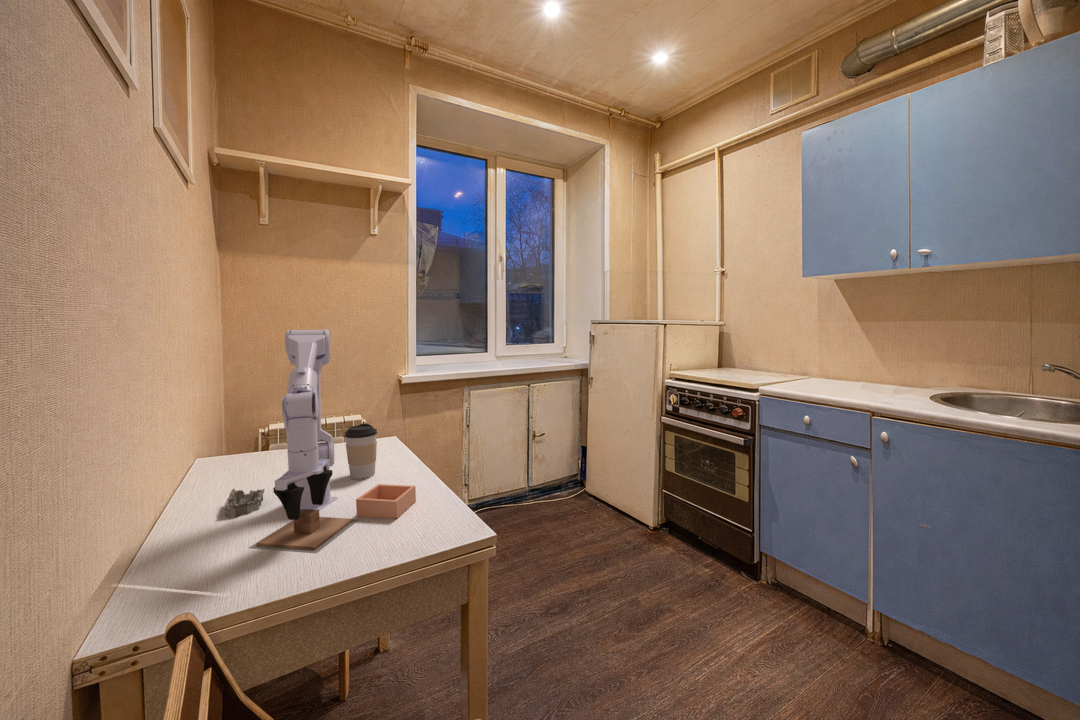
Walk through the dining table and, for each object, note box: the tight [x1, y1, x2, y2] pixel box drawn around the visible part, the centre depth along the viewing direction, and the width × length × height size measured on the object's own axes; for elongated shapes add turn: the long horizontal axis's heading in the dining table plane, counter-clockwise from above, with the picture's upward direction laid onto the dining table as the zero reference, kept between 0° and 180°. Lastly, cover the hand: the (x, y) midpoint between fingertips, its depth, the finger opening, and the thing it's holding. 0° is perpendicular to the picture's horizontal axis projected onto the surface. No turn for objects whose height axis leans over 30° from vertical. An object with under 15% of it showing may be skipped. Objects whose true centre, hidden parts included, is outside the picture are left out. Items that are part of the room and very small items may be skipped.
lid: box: [256, 509, 354, 550], centre depth 95 cm, size 13×13×5 cm
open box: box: [355, 483, 417, 520], centre depth 107 cm, size 10×10×4 cm
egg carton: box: [223, 488, 266, 518], centre depth 110 cm, size 11×8×4 cm
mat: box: [248, 518, 359, 554], centre depth 95 cm, size 15×15×1 cm
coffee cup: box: [344, 423, 378, 480], centre depth 132 cm, size 9×9×15 cm
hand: (306, 511), depth 95 cm, fingers open, 7 cm apart
